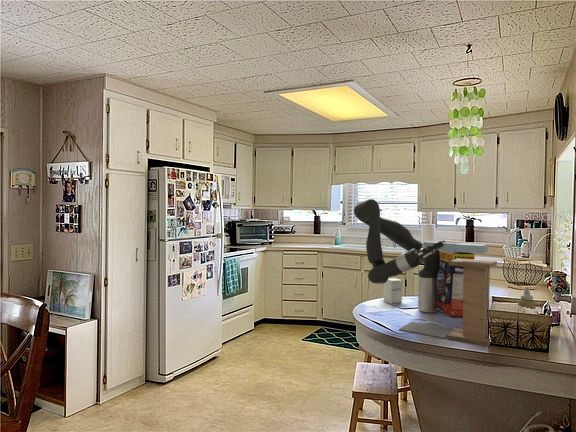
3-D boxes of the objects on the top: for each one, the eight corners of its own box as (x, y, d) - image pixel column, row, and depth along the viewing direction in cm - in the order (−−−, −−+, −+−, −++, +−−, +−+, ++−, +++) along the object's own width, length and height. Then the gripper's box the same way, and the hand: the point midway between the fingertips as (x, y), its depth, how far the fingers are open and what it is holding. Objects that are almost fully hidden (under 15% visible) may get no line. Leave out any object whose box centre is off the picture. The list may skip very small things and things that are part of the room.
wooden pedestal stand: (457, 330, 184) (458, 258, 183) (495, 337, 175) (496, 261, 174) (447, 338, 172) (448, 261, 172) (487, 346, 164) (489, 264, 163)
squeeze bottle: (531, 331, 183) (532, 289, 183) (512, 327, 190) (512, 286, 189) (540, 328, 188) (541, 287, 187) (521, 324, 194) (521, 284, 194)
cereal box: (472, 318, 205) (476, 251, 204) (449, 317, 205) (452, 250, 204) (450, 306, 231) (453, 246, 231) (430, 305, 231) (432, 245, 231)
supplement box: (391, 303, 234) (391, 280, 234) (383, 301, 241) (383, 278, 241) (402, 302, 237) (402, 279, 236) (394, 300, 244) (394, 277, 243)
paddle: (427, 247, 188) (428, 241, 188) (487, 251, 173) (487, 244, 173) (421, 249, 181) (421, 242, 181) (483, 253, 167) (483, 245, 167)
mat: (411, 322, 196) (411, 321, 196) (455, 330, 185) (455, 328, 185) (399, 330, 184) (399, 328, 184) (444, 338, 173) (444, 337, 173)
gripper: (398, 254, 184) (434, 235, 175) (410, 251, 195) (444, 234, 186) (407, 270, 182) (443, 252, 173) (418, 266, 193) (453, 249, 184)
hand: (443, 242), depth 180 cm, fingers closed on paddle, 3 cm apart
